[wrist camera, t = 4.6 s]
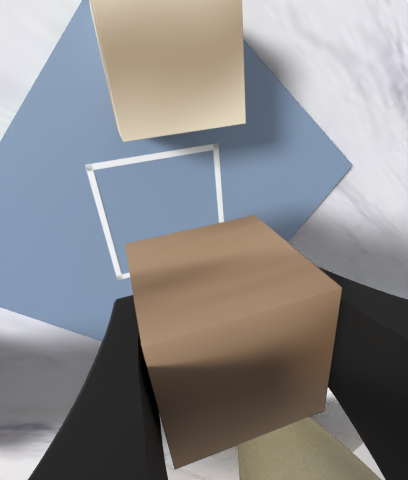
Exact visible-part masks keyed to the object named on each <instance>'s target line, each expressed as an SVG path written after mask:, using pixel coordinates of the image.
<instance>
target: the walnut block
mask: <svg viewBox="0 0 408 480" xmlns="http://www.w3.org/2000/svg"><path fill="white" fill-rule="evenodd" d="M125 249H126V255H127V261H128V267H129V273H130V279H131V285H132V291H133V297H134V303H135V310H136V316H137V322H138V328H139V334H140V340H141V346H142V350H143V354H144V358H145V361H146V365H147V369H148V372H149V376H150V380H151V384H152V387H153V391H154V395H155V398H156V402H157V406H158V410H159V413H160V417H161V421H162V424H163V428H164V432H165V435H166V439H167V443H168V447H169V450H170V454H171V458H172V461H173V465H174V469H178V468H180V467H183V466H185V465H188V464H190V463H193V462H195V461H198V460H201V459H203V458H206V457H208V456H211V455H213V454H216V453H218V452H221V451H224V450H226V449H229V448H231V447H234V446H236V445H239V444H241V443H244V442H246V441H249V440H252V439H254V438H257V437H259V436H262V435H264V434H267V433H269V432H272V431H275V430H277V429H280V428H282V427H285V426H287V425H290V424H292V423H295V422H298V421H300V420H303V419H305V418H308V417H310V416H313V415H315V414H318V413H320V412H323V411H324V409H325V402H326V395H327V388H328V381H329V374H330V368H331V361H332V354H333V347H334V340H335V333H336V326H337V320H338V313H339V306H340V299H341V292H342V287H341V286H339V285H338V284H337V283H336V282H335V281H333V280H332V279H331V278H330V277H329V276H327V275H326V274H325V273H324V272H323V271H321V270H320V269H319V268H318V267H317V266H315V265H314V264H313V263H312V262H311V261H309V260H308V259H307V258H306V257H305V256H303V255H302V254H301V253H300V252H299V251H297V250H296V249H295V248H294V247H293V246H291V245H290V244H289V243H288V242H287V241H285V240H284V239H283V238H282V237H281V236H279V235H278V234H277V233H276V232H275V231H273V230H272V229H271V228H270V227H269V226H267V225H266V224H265V223H264V222H263V221H261V220H260V219H259V218H258V217H257V216H255V215H253V216H248V217H244V218H239V219H235V220H230V221H226V222H221V223H217V224H212V225H208V226H203V227H199V228H194V229H190V230H185V231H181V232H176V233H172V234H167V235H163V236H158V237H154V238H149V239H145V240H140V241H136V242H131V243H126V244H125Z"/></svg>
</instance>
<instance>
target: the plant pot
mask: <svg viewBox="0 0 408 480" xmlns="http://www.w3.org/2000/svg"><path fill="white" fill-rule="evenodd" d="M238 460H239V475H240V480H381V479H380V478H379V477H378V476H377V475H376V474H375V473H374V472H373V471H372V470H371V469H370V468H368V467H367V466H366V465H365V464H364V463H363V462H362V461H361V460H360V459H359V458H358V457H357V456H355V455H354V454H353V453H352V452H351V451H350V450H349V449H348V448H346V447H345V446H344V445H343V444H342V443H341V442H340V441H338V440H337V439H336V438H335V437H334V436H332V435H331V434H330V433H329V432H328V431H327V430H325V429H324V428H323V427H322V426H320V425H319V424H318V423H317V422H315V421H314V420H313V419H312V418H310V417H308V418H305V419H303V420H300V421H298V422H295V423H292V424H290V425H287V426H285V427H282V428H280V429H277V430H275V431H272V432H269V433H267V434H264V435H262V436H259V437H257V438H254V439H252V440H249V441H246V442H244V443H241V444H239V445H238Z"/></svg>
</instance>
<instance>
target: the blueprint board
mask: <svg viewBox="0 0 408 480" xmlns="http://www.w3.org/2000/svg"><path fill="white" fill-rule="evenodd" d="M243 51H244V84H245V117H246V123H245V124H238V125H231V126H225V127H218V128H212V129H205V130H198V131H192V132H185V133H179V134H172V135H165V136H159V137H152V138H146V139H139V140H132V141H126V142H123V140H122V138H121V136H120V134H119V131H118V129H117V127H116V123H115V118H114V114H113V109H112V104H111V100H110V95H109V91H108V86H107V82H106V77H105V73H104V68H103V64H102V59H101V54H100V50H99V45H98V41H97V36H96V32H95V27H94V23H93V18H92V14H91V9H90V2H89V0H82V2H81V3H80V5H79V7H78V9H77V10H76V12H75V14H74V15H73V17H72V19H71V21H70V22H69V24H68V26H67V27H66V29H65V31H64V33H63V34H62V36H61V38H60V40H59V41H58V43H57V45H56V46H55V48H54V50H53V52H52V53H51V55H50V57H49V59H48V60H47V62H46V64H45V65H44V67H43V69H42V71H41V72H40V74H39V76H38V77H37V79H36V81H35V83H34V84H33V86H32V88H31V90H30V91H29V93H28V95H27V96H26V98H25V100H24V102H23V103H22V105H21V107H20V109H19V110H18V112H17V114H16V115H15V117H14V119H13V121H12V122H11V124H10V126H9V127H8V129H7V131H6V133H5V134H4V136H3V138H2V140H1V141H0V307H1V308H4V309H7V310H10V311H13V312H16V313H19V314H22V315H25V316H28V317H31V318H34V319H37V320H40V321H43V322H46V323H49V324H52V325H55V326H58V327H61V328H64V329H67V330H70V331H73V332H76V333H79V334H82V335H85V336H88V337H91V338H94V339H97V340H100V341H103V338H104V335H105V333H106V330H107V327H108V324H109V320H110V317H111V313H112V309H113V305H114V302H115V301H116V299H119V298H123V297H126V296H130V295H133V291H132V285H131V279H130V273H129V267H128V261H127V255H126V249H125V244H126V243H131V242H136V241H140V240H145V239H149V238H154V237H158V236H163V235H167V234H172V233H176V232H181V231H185V230H190V229H194V228H199V227H203V226H208V225H212V224H217V223H221V222H226V221H230V220H235V219H239V218H244V217H248V216H253V215H255V216H257V217H258V218H259V219H260V220H261V221H263V222H264V223H265V224H266V225H267V226H269V227H270V228H271V229H272V230H273V231H275V232H276V233H277V234H278V235H279V236H281V237H282V238H283V239H284V240H285V241H287V242H288V241H289V240H290V239H291V237H292V236H293V235H294V234H295V233H296V232H297V230H298V229H299V228H300V227H301V226H302V224H303V223H304V222H305V221H306V220H307V219H308V217H309V216H310V215H311V214H312V213H313V211H314V210H315V209H316V208H317V207H318V206H319V204H320V203H321V202H322V201H323V200H324V198H325V197H326V196H327V195H328V194H329V192H330V191H331V190H332V189H333V188H334V187H335V185H336V184H337V183H338V182H339V181H340V179H341V178H342V177H343V176H344V175H345V174H346V172H347V171H348V170H349V169H350V168H351V166H352V164H351V163H350V162H349V161H348V159H347V158H346V157H345V156H344V155H343V154H342V153H341V151H340V150H339V149H338V148H337V147H336V146H335V144H334V143H333V142H332V141H331V140H330V139H329V138H328V136H327V135H326V134H325V133H324V132H323V131H322V130H321V128H320V127H319V126H318V125H317V124H316V123H315V121H314V120H313V119H312V118H311V117H310V116H309V115H308V113H307V112H306V111H305V110H304V109H303V108H302V107H301V105H300V104H299V103H298V102H297V101H296V100H295V98H294V97H293V96H292V95H291V94H290V93H289V92H288V90H287V89H286V88H285V87H284V86H283V85H282V84H281V82H280V81H279V80H278V79H277V78H276V77H275V75H274V74H273V73H272V72H271V71H270V70H269V69H268V67H267V66H266V65H265V64H264V63H263V62H262V61H261V59H260V58H259V57H258V56H257V55H256V54H255V52H254V51H253V50H252V49H251V48H250V47H249V46H248V44H247V43H246V42H245V41H244V40H243Z"/></svg>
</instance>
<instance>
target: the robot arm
mask: <svg viewBox="0 0 408 480" xmlns="http://www.w3.org/2000/svg"><path fill="white" fill-rule="evenodd" d="M318 268H319V267H318ZM319 269H320V270H321V271H323V272H324V273H325V274H326V275H327V276H329V277H330V278H331V279H332V280H333V281H335V282H336V283H337V284H338V285H339V286H341V287H342V292H341V299H340V306H339V313H338V320H337V326H336V333H335V340H334V347H333V354H332V361H331V368H330V374H329V381H328V387H329V389H330V390H331V392H332V393H333V394H334V396H335V397H336V399H337V400H338V402H339V403H340V405H341V407H342V408H343V410H344V411H345V413H346V414H347V416H348V418H349V419H350V421H351V422H352V424H353V425H354V427H355V429H356V430H357V432H358V434H359V435H360V437H361V439H362V440H363V442H364V444H365V445H366V447H367V448H368V450H369V452H370V453H371V455H372V457H373V458H374V460H375V462H376V463H377V465H378V467H379V469H380V471H381V472H382V474H383V476H384V477H385V479H386V480H408V300H407V299H404V298H400V297H397V296H394V295H391V294H388V293H385V292H382V291H379V290H376V289H373V288H370V287H368V286H365V285H362V284H359V283H357V282H354V281H351V280H349V279H346V278H344V277H341V276H339V275H336V274H334V273H331V272H329V271H327V270H324V269H322V268H319ZM28 480H168V477H167V471H166V466H165V459H164V452H163V445H162V435H161V425H160V415H159V410H158V406H157V402H156V398H155V395H154V391H153V387H152V384H151V380H150V376H149V372H148V369H147V365H146V361H145V358H144V354H143V350H142V346H141V340H140V334H139V328H138V322H137V316H136V310H135V303H134V297H133V295H130V296H126V297H123V298H119V299H116V301H115V302H114V305H113V309H112V313H111V317H110V320H109V324H108V327H107V330H106V333H105V335H104V338H103V341H102V343H101V346H100V349H99V351H98V354H97V356H96V359H95V361H94V363H93V365H92V368H91V370H90V372H89V374H88V376H87V379H86V381H85V383H84V385H83V387H82V389H81V391H80V393H79V395H78V397H77V399H76V401H75V403H74V405H73V407H72V408H71V410H70V412H69V414H68V416H67V417H66V419H65V421H64V423H63V425H62V426H61V428H60V430H59V431H58V433H57V435H56V436H55V438H54V440H53V441H52V443H51V444H50V446H49V448H48V449H47V451H46V453H45V454H44V456H43V457H42V459H41V461H40V462H39V464H38V465H37V467H36V468H35V470H34V471H33V473H32V474H31V476H30V477H29V479H28Z"/></svg>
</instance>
